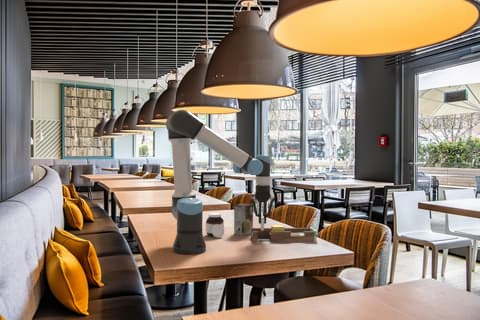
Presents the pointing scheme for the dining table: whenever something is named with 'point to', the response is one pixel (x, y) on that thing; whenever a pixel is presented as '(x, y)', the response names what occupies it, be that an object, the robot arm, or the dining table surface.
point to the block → (277, 228)
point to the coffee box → (243, 219)
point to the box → (284, 235)
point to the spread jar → (215, 225)
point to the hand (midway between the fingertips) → (262, 229)
